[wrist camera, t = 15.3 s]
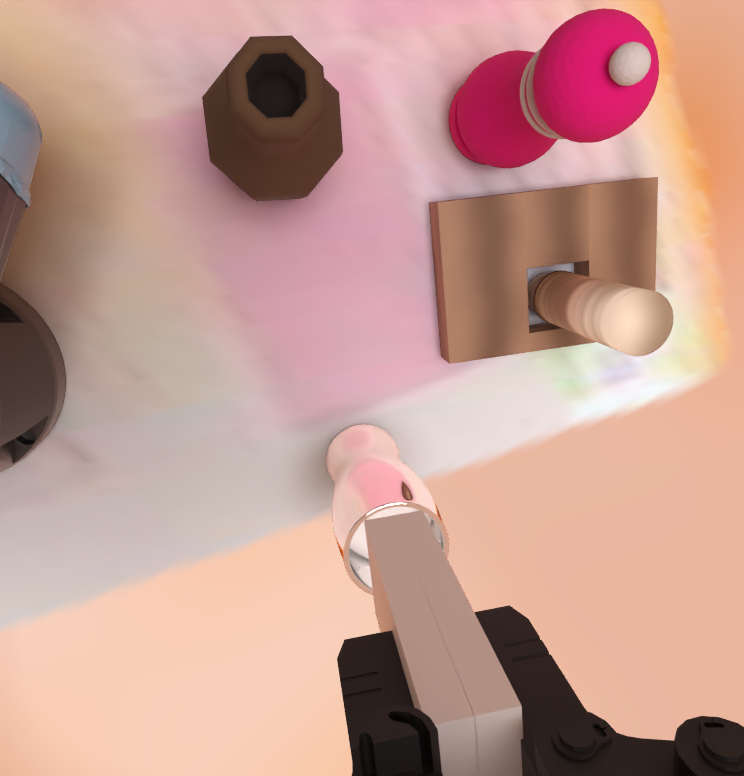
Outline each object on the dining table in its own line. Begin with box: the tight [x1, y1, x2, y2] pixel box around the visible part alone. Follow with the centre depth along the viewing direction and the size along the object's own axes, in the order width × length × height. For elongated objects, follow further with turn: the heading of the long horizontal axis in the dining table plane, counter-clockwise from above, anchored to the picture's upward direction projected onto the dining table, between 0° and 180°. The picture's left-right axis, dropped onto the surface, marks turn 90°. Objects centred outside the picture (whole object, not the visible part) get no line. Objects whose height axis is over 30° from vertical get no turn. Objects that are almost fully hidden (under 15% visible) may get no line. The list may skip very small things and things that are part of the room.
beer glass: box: [326, 424, 449, 595], centre depth 45 cm, size 7×7×15 cm
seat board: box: [429, 177, 658, 364], centre depth 49 cm, size 17×12×2 cm
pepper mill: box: [449, 9, 659, 168], centre depth 37 cm, size 7×7×20 cm
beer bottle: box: [202, 36, 343, 201], centre depth 33 cm, size 8×8×24 cm
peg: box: [528, 271, 673, 356], centre depth 44 cm, size 4×4×14 cm
